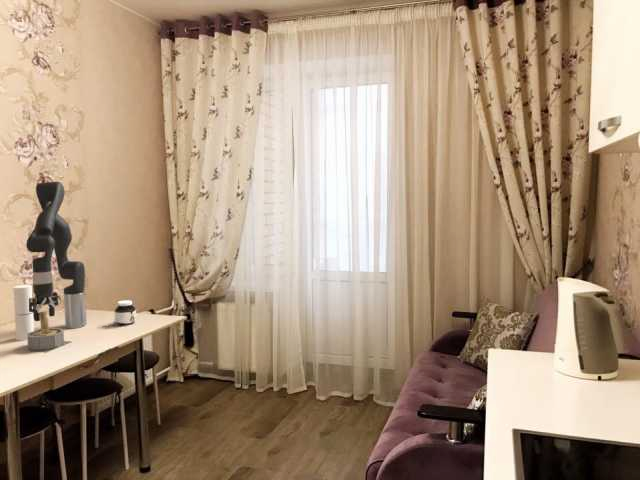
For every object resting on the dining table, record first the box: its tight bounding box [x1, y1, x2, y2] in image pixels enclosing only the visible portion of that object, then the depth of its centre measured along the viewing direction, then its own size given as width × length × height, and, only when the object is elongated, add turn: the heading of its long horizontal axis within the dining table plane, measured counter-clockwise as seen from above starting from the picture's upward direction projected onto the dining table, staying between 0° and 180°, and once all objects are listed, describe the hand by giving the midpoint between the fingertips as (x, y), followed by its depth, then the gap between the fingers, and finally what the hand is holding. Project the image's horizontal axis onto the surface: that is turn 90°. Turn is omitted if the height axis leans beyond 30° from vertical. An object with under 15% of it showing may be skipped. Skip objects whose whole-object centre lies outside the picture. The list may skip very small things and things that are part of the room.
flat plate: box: [18, 340, 73, 353], centre depth 218 cm, size 16×14×1 cm
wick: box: [39, 310, 50, 334], centre depth 217 cm, size 3×3×14 cm
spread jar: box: [114, 300, 137, 327], centre depth 260 cm, size 12×11×12 cm
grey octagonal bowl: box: [26, 327, 65, 351], centre depth 218 cm, size 14×14×6 cm
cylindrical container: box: [13, 284, 35, 342], centre depth 228 cm, size 7×7×25 cm
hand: (44, 318), depth 217 cm, fingers open, 8 cm apart
